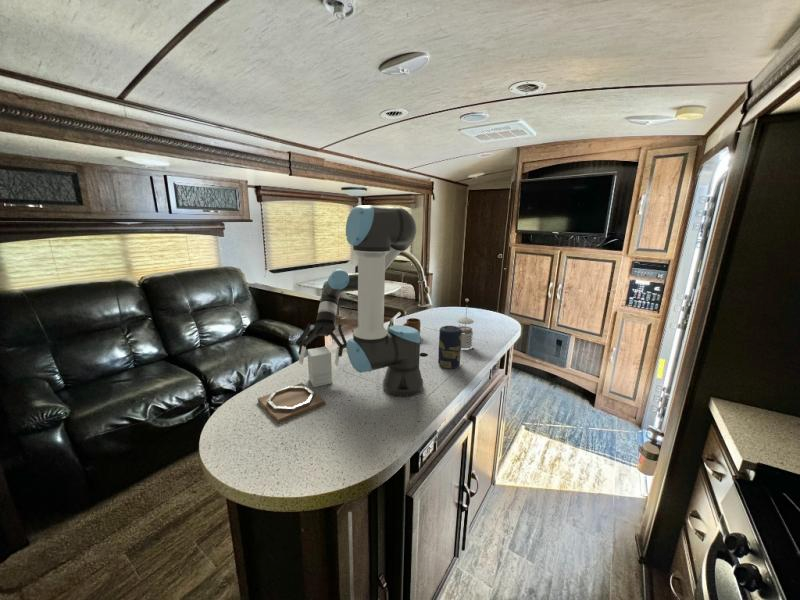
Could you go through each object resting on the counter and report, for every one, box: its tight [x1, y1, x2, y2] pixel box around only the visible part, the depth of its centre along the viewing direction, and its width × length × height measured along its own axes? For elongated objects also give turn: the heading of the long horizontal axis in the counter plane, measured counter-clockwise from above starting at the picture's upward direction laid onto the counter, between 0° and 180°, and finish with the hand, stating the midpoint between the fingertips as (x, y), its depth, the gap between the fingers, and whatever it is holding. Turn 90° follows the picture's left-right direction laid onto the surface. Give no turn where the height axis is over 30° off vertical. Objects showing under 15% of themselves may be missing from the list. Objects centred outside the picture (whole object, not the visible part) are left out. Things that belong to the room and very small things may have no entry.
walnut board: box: [257, 382, 326, 424], centre depth 107 cm, size 16×16×2 cm
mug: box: [402, 317, 421, 334], centre depth 170 cm, size 12×8×9 cm, turn 138°
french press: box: [457, 298, 475, 348], centre depth 156 cm, size 10×12×25 cm
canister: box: [437, 325, 463, 369], centre depth 136 cm, size 10×10×18 cm
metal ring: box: [267, 385, 315, 412], centre depth 106 cm, size 14×14×1 cm
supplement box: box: [306, 346, 333, 388], centre depth 120 cm, size 7×7×13 cm
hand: (318, 363), depth 120 cm, fingers open, 13 cm apart
